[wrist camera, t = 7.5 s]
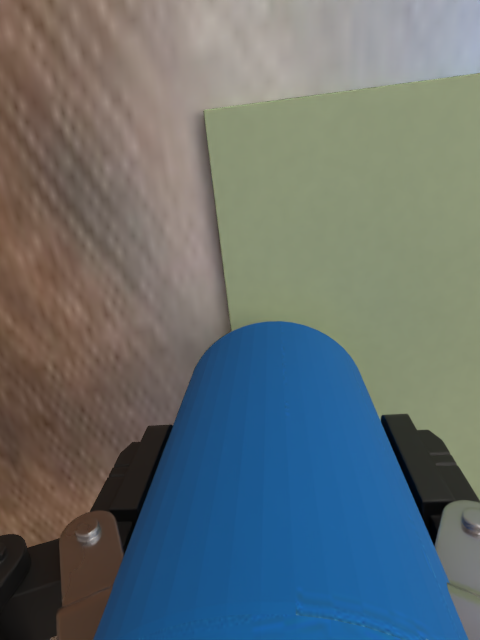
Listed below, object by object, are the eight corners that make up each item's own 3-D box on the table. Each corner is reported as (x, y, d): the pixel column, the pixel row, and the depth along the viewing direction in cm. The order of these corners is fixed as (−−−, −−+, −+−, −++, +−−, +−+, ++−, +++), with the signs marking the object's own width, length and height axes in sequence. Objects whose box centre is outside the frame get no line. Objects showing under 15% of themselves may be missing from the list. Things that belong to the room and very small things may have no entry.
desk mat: (260, 560, 21) (260, 566, 20) (204, 111, 14) (203, 109, 14) (614, 553, 19) (619, 559, 19) (746, 38, 12) (757, 36, 12)
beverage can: (171, 332, 16) (-83, 759, 4) (345, 296, 15) (589, 721, 3) (216, 471, 18) (122, 1003, 6) (371, 447, 17) (577, 1021, 6)
